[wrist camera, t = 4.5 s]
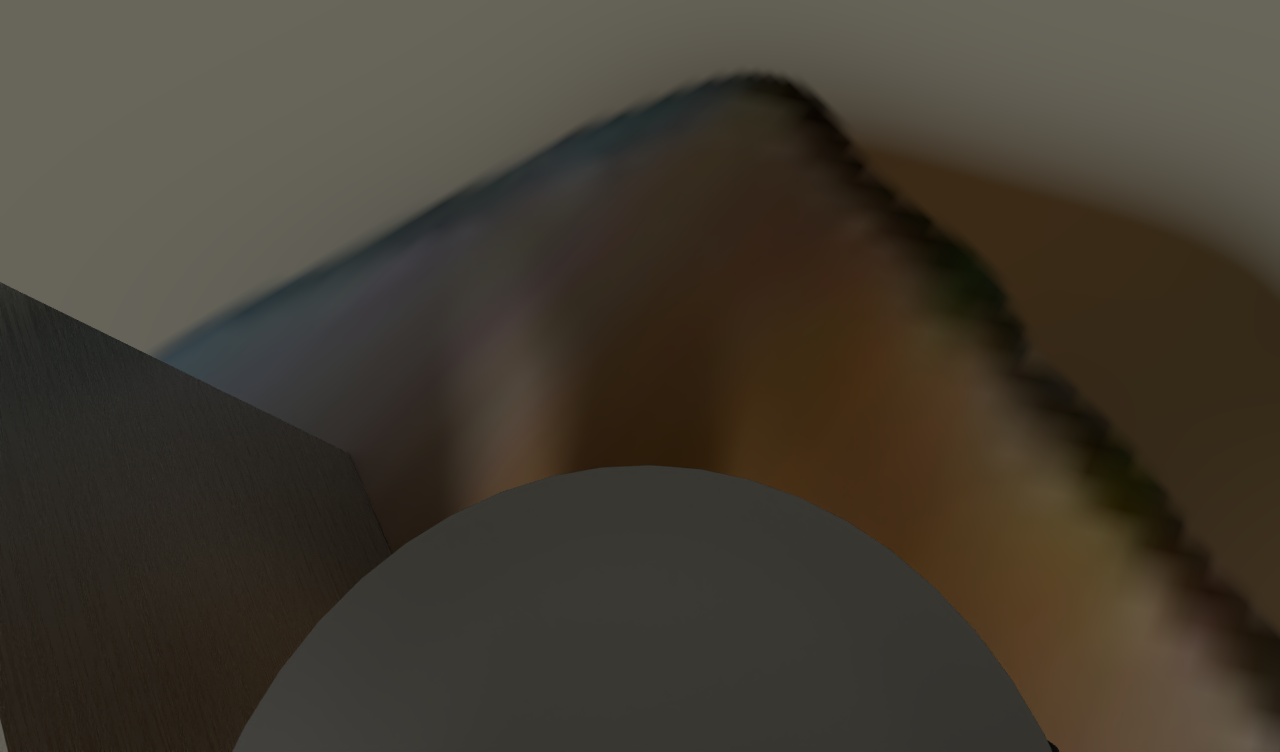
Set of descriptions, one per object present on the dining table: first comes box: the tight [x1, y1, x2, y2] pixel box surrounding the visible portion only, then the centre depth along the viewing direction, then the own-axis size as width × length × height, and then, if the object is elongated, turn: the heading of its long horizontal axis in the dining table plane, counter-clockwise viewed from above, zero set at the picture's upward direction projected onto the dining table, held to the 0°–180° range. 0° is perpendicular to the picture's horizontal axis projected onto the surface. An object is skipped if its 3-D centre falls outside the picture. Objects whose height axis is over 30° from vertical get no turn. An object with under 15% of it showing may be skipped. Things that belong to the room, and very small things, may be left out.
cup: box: [233, 465, 1052, 752], centre depth 10 cm, size 6×6×12 cm
